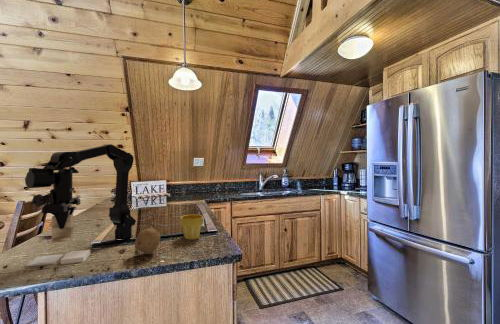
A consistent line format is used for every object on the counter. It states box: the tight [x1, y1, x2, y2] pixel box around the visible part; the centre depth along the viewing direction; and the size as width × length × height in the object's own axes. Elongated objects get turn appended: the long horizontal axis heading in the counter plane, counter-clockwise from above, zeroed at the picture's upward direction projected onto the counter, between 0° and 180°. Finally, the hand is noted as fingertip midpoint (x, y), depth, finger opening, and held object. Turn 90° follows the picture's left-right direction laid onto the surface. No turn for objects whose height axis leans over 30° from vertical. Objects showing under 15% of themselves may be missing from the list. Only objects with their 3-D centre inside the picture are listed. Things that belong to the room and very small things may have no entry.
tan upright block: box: [51, 213, 74, 244], centre depth 93 cm, size 6×5×9 cm
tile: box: [60, 249, 91, 265], centre depth 93 cm, size 7×2×8 cm
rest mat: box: [25, 253, 64, 268], centre depth 91 cm, size 8×8×1 cm
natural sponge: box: [134, 228, 161, 256], centre depth 97 cm, size 9×9×10 cm
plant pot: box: [180, 214, 204, 240], centre depth 117 cm, size 10×10×10 cm
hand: (62, 228), depth 93 cm, fingers closed on tan upright block
